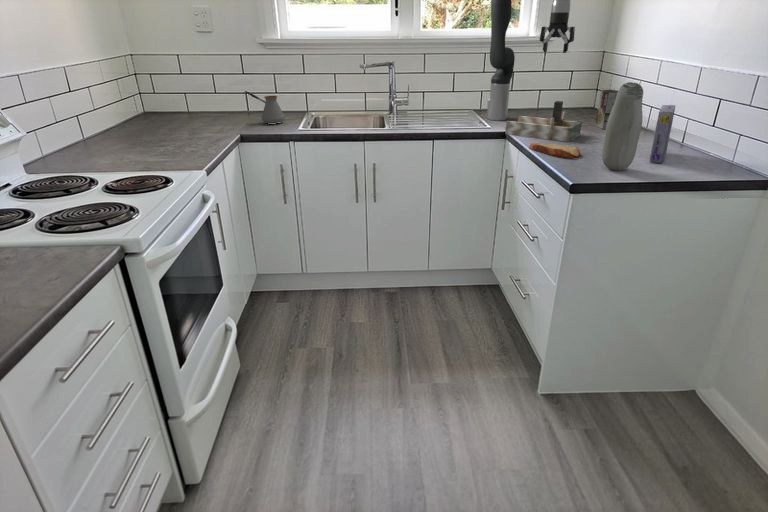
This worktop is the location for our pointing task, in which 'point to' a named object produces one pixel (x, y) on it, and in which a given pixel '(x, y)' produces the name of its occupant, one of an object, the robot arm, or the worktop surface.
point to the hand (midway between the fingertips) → (554, 52)
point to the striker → (557, 113)
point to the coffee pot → (270, 109)
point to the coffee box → (605, 107)
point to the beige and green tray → (544, 128)
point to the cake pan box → (662, 133)
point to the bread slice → (556, 150)
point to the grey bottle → (623, 127)
